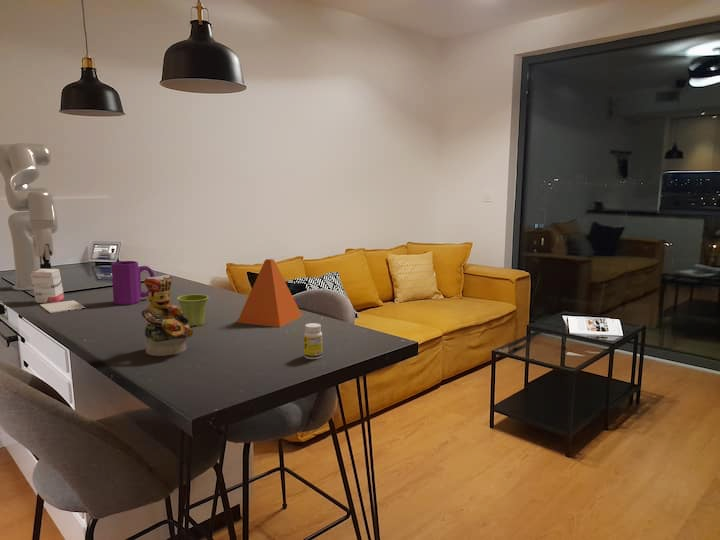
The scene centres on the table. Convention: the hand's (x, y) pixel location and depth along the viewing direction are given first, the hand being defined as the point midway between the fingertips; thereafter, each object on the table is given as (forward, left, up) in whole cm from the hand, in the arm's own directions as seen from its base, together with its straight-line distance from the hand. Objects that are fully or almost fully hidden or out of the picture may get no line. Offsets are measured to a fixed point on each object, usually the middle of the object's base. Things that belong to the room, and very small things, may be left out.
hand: (46, 274), depth 197 cm
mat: (+16, +1, -10) cm, 19 cm away
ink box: (+4, 0, -10) cm, 10 cm away
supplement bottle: (+118, +35, -10) cm, 124 cm away
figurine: (+89, +9, -10) cm, 90 cm away
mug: (+23, +24, -10) cm, 35 cm away
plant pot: (+68, +26, -10) cm, 74 cm away
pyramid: (+78, +48, -10) cm, 92 cm away
